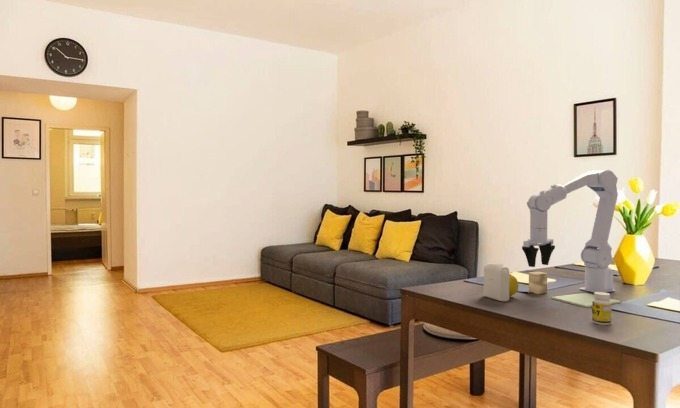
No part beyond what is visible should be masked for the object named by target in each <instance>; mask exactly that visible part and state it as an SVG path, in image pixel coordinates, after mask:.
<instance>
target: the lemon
mask: <svg viewBox="0 0 680 408" xmlns="http://www.w3.org/2000/svg"><path fill="white" fill-rule="evenodd" d="M518 290H519V282H518V279H517V277H515V276H514V275H512V274H511V273H509V298H511V297H512V296H513V295H516V293H517V292H518Z"/></svg>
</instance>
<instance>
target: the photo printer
mask: <svg viewBox="0 0 680 408" xmlns="http://www.w3.org/2000/svg"><path fill="white" fill-rule="evenodd" d="M509 274H510V270H509V268H508V267H507V266H506V265H504V264H503V263H500V262H498V261H497V262H496V261H495V262H487V263H485V264H484V267H483V296H484V297H486V298H489V299H492V300H496V301H500V302H509V300H510V297H509Z"/></svg>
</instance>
